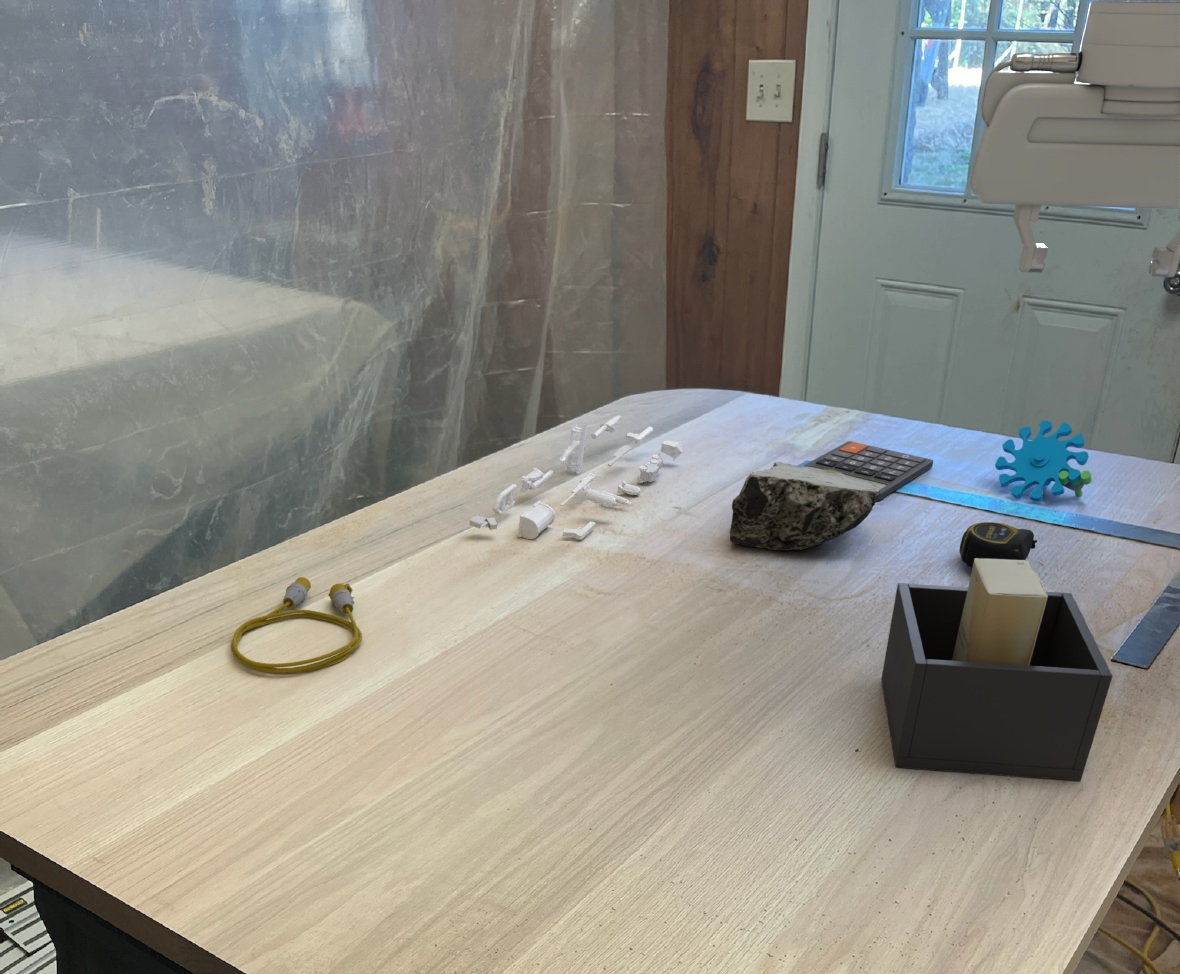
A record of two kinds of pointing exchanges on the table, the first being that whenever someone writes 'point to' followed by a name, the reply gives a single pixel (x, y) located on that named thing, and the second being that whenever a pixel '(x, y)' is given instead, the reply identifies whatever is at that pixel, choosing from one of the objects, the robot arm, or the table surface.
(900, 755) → the open box
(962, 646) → the cosmetic box
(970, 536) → the tape measure
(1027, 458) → the gear
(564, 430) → the table surface
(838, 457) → the calculator
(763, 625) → the table surface
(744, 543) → the concrete fragment
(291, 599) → the extension cord
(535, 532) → the miniature set
